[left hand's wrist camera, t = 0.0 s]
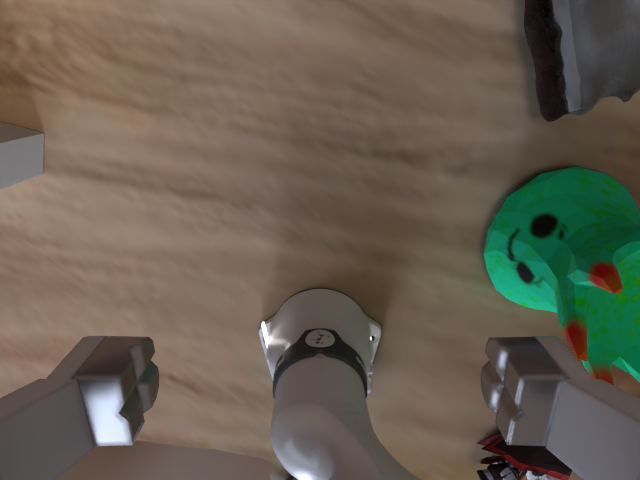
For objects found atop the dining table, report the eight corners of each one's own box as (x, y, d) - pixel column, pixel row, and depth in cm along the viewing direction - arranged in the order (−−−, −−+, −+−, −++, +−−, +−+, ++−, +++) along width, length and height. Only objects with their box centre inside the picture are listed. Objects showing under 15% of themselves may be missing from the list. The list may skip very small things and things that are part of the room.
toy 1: (513, 150, 56) (651, 206, 33) (654, 184, 58) (879, 260, 34) (460, 285, 63) (541, 410, 40) (586, 312, 65) (734, 446, 42)
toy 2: (500, 520, 64) (597, 484, 62) (470, 454, 67) (562, 418, 66) (488, 498, 75) (570, 466, 74) (462, 442, 78) (540, 411, 77)
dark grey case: (502, -40, 48) (535, -59, 41) (604, -78, 47) (657, -105, 40) (526, 120, 55) (558, 128, 47) (616, 90, 53) (664, 94, 46)
